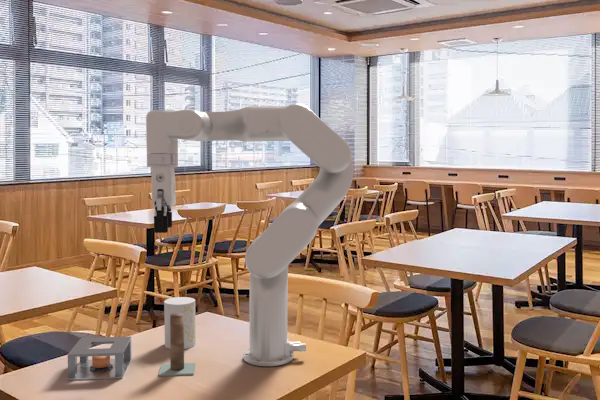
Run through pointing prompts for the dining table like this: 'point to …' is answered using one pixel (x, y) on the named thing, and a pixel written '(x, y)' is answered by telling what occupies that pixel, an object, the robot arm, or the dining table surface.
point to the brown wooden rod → (177, 341)
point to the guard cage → (82, 350)
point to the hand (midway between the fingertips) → (163, 229)
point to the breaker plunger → (100, 361)
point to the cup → (188, 309)
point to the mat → (167, 371)
